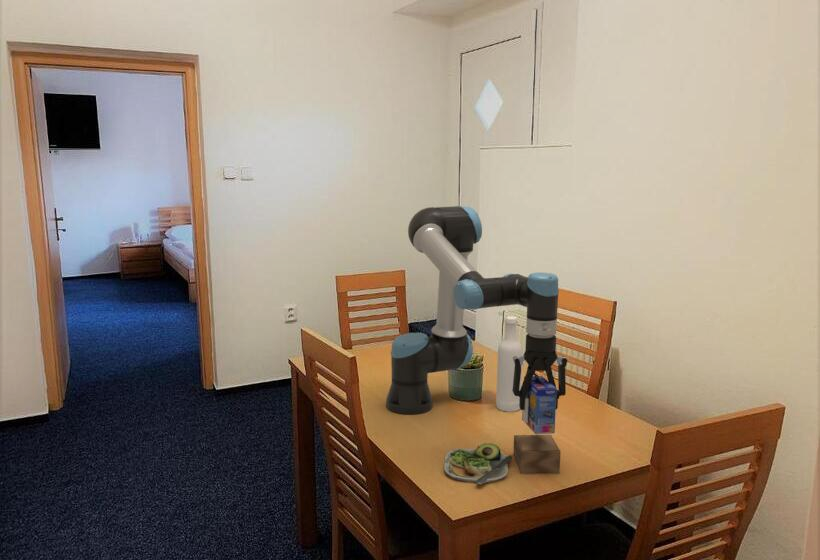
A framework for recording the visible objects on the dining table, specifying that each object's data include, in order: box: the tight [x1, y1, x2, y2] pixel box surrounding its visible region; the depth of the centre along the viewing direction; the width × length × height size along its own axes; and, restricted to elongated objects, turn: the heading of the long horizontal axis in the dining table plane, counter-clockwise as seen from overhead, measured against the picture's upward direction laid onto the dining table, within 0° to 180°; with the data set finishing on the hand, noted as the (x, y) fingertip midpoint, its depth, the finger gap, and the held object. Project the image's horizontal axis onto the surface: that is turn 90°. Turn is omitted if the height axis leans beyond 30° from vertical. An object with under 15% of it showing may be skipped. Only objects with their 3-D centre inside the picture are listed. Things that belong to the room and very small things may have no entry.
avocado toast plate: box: [443, 442, 514, 485], centre depth 165 cm, size 19×18×5 cm
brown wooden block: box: [512, 434, 561, 475], centre depth 168 cm, size 10×10×6 cm
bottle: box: [495, 315, 524, 413], centre depth 206 cm, size 8×8×30 cm
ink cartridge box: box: [521, 372, 558, 435], centre depth 166 cm, size 10×6×14 cm, turn 12°
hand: (537, 420), depth 167 cm, fingers closed on ink cartridge box, 6 cm apart
